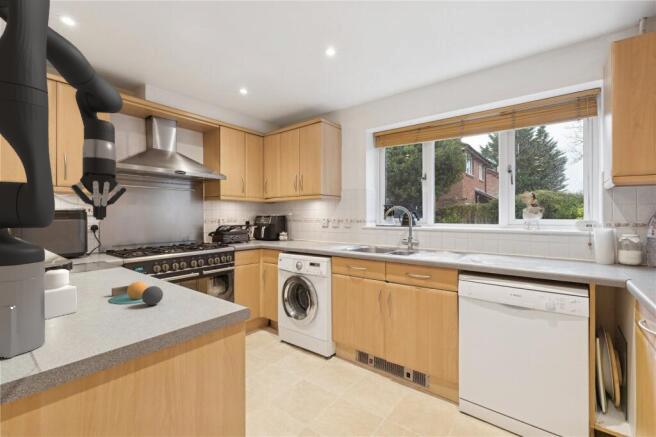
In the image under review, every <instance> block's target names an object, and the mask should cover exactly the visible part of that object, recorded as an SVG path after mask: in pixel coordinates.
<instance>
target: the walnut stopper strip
mask: <svg viewBox="0 0 656 437" xmlns="http://www.w3.org/2000/svg"><path fill="white" fill-rule="evenodd" d="M129 286H130V285H125V286H118V287H111V297H115V296H118V295H122V294H127V289H128V287H129Z"/></svg>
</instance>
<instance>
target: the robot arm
mask: <svg viewBox="0 0 656 437" xmlns="http://www.w3.org/2000/svg"><path fill="white" fill-rule="evenodd" d="M50 8H51V0H0V19H1V20H2V21H4V22H5V23H6V24H5V27H4V31H3V33H2V34H1V36H0V136H1V137H2V138H3V139H4V140H5V141H6V142H7V143H8V144H9V145H10V146H11V148H12V149H13V151H14V153H15V154H16V155H17V157H18V158H19V160H20V162H21V164H22V167H23V170H24V173H25V178H26V182H25V181H24V182H21V181H4V180H3V181H0V357H4V358H3V359H11V358H13V357H16V356H17V355H18V356H19V355H21V354H24V353H27V352H31V351H33V350H35V349H37V348H40V347H41V346H43V345H44V344H45V342H46V320H45V270H46V251H45V248H44V247H42V246H40V245H37V244H33V243H30V242H29V243H28V242H26V241H23V240H20V239H17V238H16V237H14V236H12V235H11V234H10V232H9V229H43V228H48V227H50V226H51V225H52V223H53V221H54V219H55V214H56V202H55V201H56V200H55V190H54V183H53V175H52V166H51V159H50V144H49V142H50V137H49V136H50V135H49V134H50V132H49V130H50V129H49V122H50V120H49V119H50V118H49V117H50V116H49V112H50V108H49V104H50V103H49V91H48V90H49V86H48V77H47V76H48V75H47V61H48V62H49V64H50V65H51V66H53V68H54V69H55V70H56V72H58V73H59V75H60V76H61V77H62V78H63V79H64V81H65V82H66V83H67V84H68V85H69V86H70V87H72V88H73V89H74V90H76V91H75V95H74V98H75V101H76V106H77V107H78V110H79V113H80V114H79V115H80V118H81V122H82V125H83V143H82V144H83V145H82V157H81V158H82V165H81V166H82V171H81V172H82V175H81V178H80V179H79V182H77V183H75V184H72V185H71V186H70V190H72V192H74V193H75V194H76V196H78V197H79V199H80V200H81V201H82V202H83V203H84V204H86V205H90V206H91V207H92V217H93V218H95V220H96V221H104V218H107V207H108V206H110V205H114V204H115V203H116V202H117V201H118V200H119V199H120V198H121V197H122V196H123V194H125V192H126V191H127V188H126V187H123V186H121V185H120V184H119V181H118V180H117V176H116V175H117V151H116V150H117V149H116V136H115V135H116V130H115V125H114V124H113V123H112V122H110V121H107V120H105V119H100V118H99V117H98V114H117V113H119V112H120V111H122V109H123V108H124V107H123V106H124V103H123V98H122V95H121V94H120V93H119V92H120V91H119V90H117V88H116V87H114V85H113V84H111V83H110V81H108V80H107V79H105V78H104V76H102V75H101V74H100V73H98V72H97V71H96V70H95V69H94V67H93V65H92V64H91V63H90V62H89V61H88V59H87V58H86V56H85V55H84V54H83V53H82V51H81V50H79V48H78V47H76V46H75V44H73V43H72V42H71V41H70V40H68V39H67V38H66V37H65V36H63V35H61V34H60V33H59V32H57V31H56V30H55V29H53V28H52V27H50V26H49V20H50ZM84 188H85V190H86V191H87V192H88V193H90V197H91V198H89V197H88V195H87V194H86V193H85V192H84V191H83V190H84ZM114 189H115V190H114ZM113 190H114V191H115V192H114V194H113V195H112V196H111V197H110V198H109V194H110V193H111V192H112V191H113ZM108 198H109V199H108Z"/></svg>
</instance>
